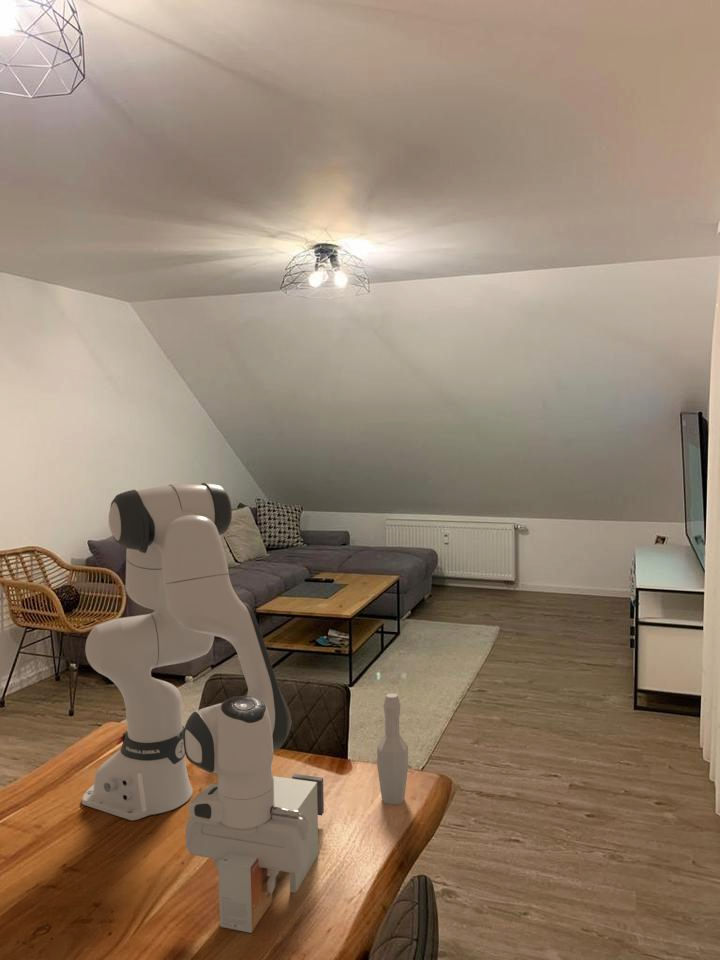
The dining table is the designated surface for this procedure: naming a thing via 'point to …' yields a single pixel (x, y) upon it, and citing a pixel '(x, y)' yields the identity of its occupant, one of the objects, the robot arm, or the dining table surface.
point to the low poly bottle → (392, 755)
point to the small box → (241, 892)
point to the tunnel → (305, 801)
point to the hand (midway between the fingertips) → (248, 886)
